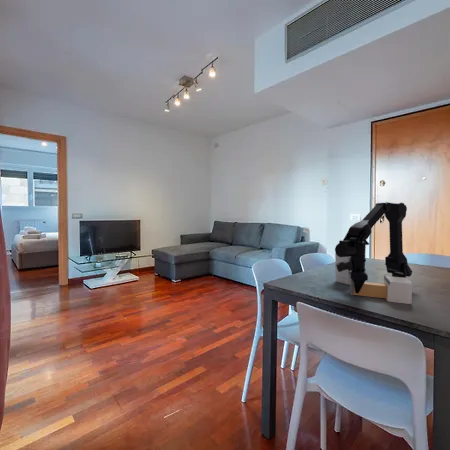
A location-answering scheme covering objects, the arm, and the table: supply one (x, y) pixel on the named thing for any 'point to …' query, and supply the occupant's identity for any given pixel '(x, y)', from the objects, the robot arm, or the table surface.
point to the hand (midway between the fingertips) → (356, 291)
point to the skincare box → (343, 275)
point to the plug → (370, 289)
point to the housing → (398, 289)
